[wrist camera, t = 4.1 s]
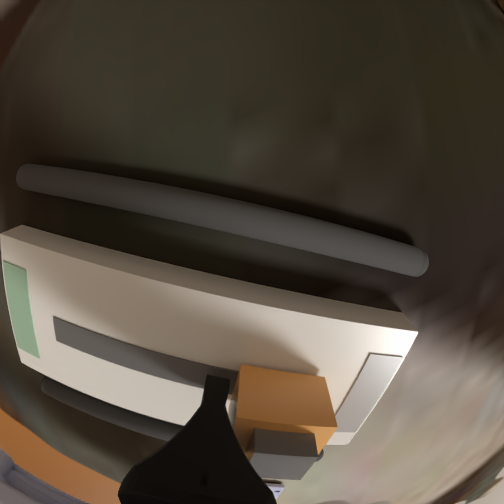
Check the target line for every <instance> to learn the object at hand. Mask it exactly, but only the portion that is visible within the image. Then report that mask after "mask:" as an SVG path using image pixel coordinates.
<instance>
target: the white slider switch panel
mask: <svg viewBox="0 0 504 504" xmlns="http://www.w3.org/2000/svg"><path fill="white" fill-rule="evenodd" d="M0 242H1V256H2V267H3V276H4V283H5V290H6V297H7V303H8V308H9V314H10V319H11V324H12V328H13V332H14V337H15V341H16V345H17V349H18V352H19V356H20V359H21V362H22V363H23V364H25V365H27V366H29V367H31V368H33V369H34V370H36V371H38V372H40V373H42V374H44V375H46V376H48V377H50V378H52V379H54V380H56V381H58V382H61V383H63V384H65V385H67V386H69V387H71V388H74V389H76V390H78V391H81V392H83V393H85V394H88V395H90V396H93V397H95V398H98V399H100V400H103V401H106V402H108V403H111V404H114V405H117V406H119V407H122V408H125V409H128V410H131V411H134V412H137V413H140V414H144V415H147V416H150V417H154V418H157V419H161V420H164V421H168V422H172V423H175V424H179V425H184V426H185V424H186V423H187V422H188V421H189V420H190V419H191V417H192V416H193V415H194V413H195V412H196V411H197V409H198V408H199V407H200V405H201V401H202V396H203V391H204V386H205V381H206V377H207V375H212V376H216V377H221V378H226V379H230V387H229V393H228V397H227V401H226V409H227V413H228V409H229V404H230V400H231V397H232V393H233V390H234V387H235V383H236V380H237V376H238V373H239V369H240V365H241V364H243V365H249V366H254V367H260V368H266V369H271V370H278V371H284V372H291V373H298V374H305V375H313V376H321V377H325V379H326V383H327V387H328V391H329V395H330V398H331V402H332V406H333V410H334V414H335V418H336V422H337V426H338V428H337V429H336V431H335V432H334V434H333V435H332V437H331V438H330V439H329V441H328V442H327V444H326V445H347V444H348V443H349V442H350V441H351V439H352V438H353V437H354V435H355V434H356V433H357V431H358V430H359V429H360V427H361V426H362V424H363V423H364V422H365V420H366V419H367V417H368V416H369V414H370V413H371V412H372V410H373V409H374V407H375V406H376V404H377V403H378V401H379V400H380V398H381V397H382V395H383V393H384V392H385V390H386V389H387V387H388V385H389V384H390V382H391V381H392V379H393V377H394V376H395V374H396V372H397V370H398V369H399V367H400V365H401V364H402V362H403V360H404V358H405V356H406V355H407V353H408V351H409V349H410V347H411V345H412V343H413V341H414V340H415V338H416V336H417V334H418V331H417V330H416V328H415V327H414V326H413V325H412V323H411V322H410V321H409V320H408V318H407V317H406V316H405V315H404V314H403V313H402V312H396V311H391V310H385V309H380V308H374V307H369V306H363V305H358V304H353V303H348V302H342V301H337V300H332V299H327V298H322V297H317V296H312V295H307V294H302V293H297V292H293V291H288V290H283V289H278V288H274V287H269V286H264V285H260V284H255V283H250V282H246V281H241V280H237V279H232V278H228V277H224V276H219V275H215V274H210V273H206V272H202V271H197V270H193V269H189V268H185V267H181V266H176V265H172V264H168V263H164V262H160V261H156V260H152V259H148V258H144V257H140V256H136V255H132V254H128V253H124V252H120V251H116V250H112V249H108V248H105V247H101V246H97V245H93V244H89V243H86V242H82V241H78V240H75V239H71V238H67V237H64V236H60V235H56V234H53V233H49V232H46V231H42V230H39V229H35V228H32V227H28V226H25V225H20V226H18V227H15V228H13V229H10V230H8V231H5V232H3V233H1V234H0Z"/></svg>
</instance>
